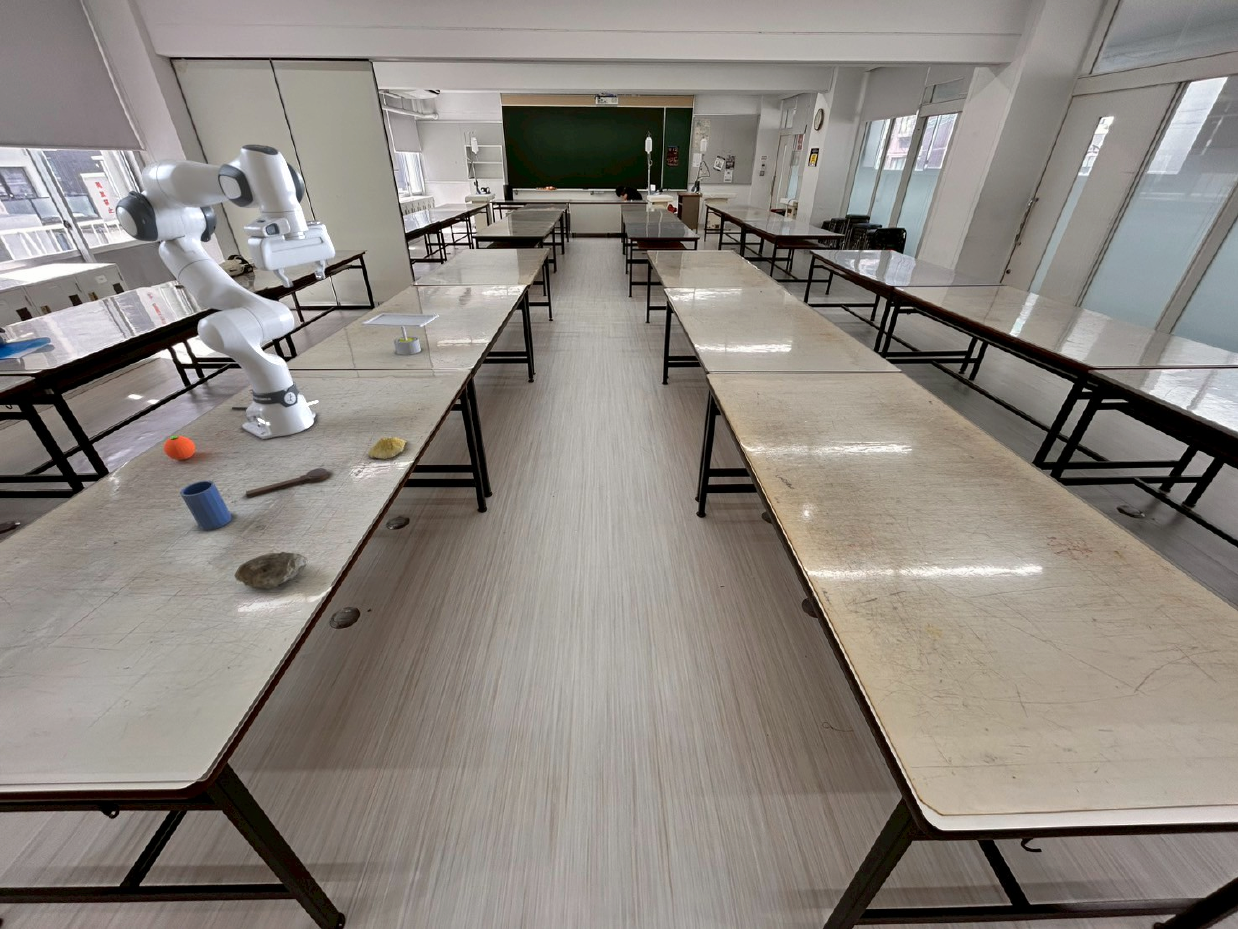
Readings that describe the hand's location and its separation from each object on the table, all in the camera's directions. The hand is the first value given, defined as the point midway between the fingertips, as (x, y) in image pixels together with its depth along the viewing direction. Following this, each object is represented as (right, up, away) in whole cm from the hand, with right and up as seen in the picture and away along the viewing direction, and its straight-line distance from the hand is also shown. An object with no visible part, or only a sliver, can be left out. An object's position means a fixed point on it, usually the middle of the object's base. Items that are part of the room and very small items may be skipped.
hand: (305, 282), depth 128 cm
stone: (+10, -71, -24) cm, 76 cm away
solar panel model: (-16, +5, +99) cm, 101 cm away
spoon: (-8, -53, +6) cm, 54 cm away
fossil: (+12, -43, +21) cm, 50 cm away
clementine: (-48, -45, +19) cm, 69 cm away
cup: (-17, -61, -8) cm, 64 cm away
